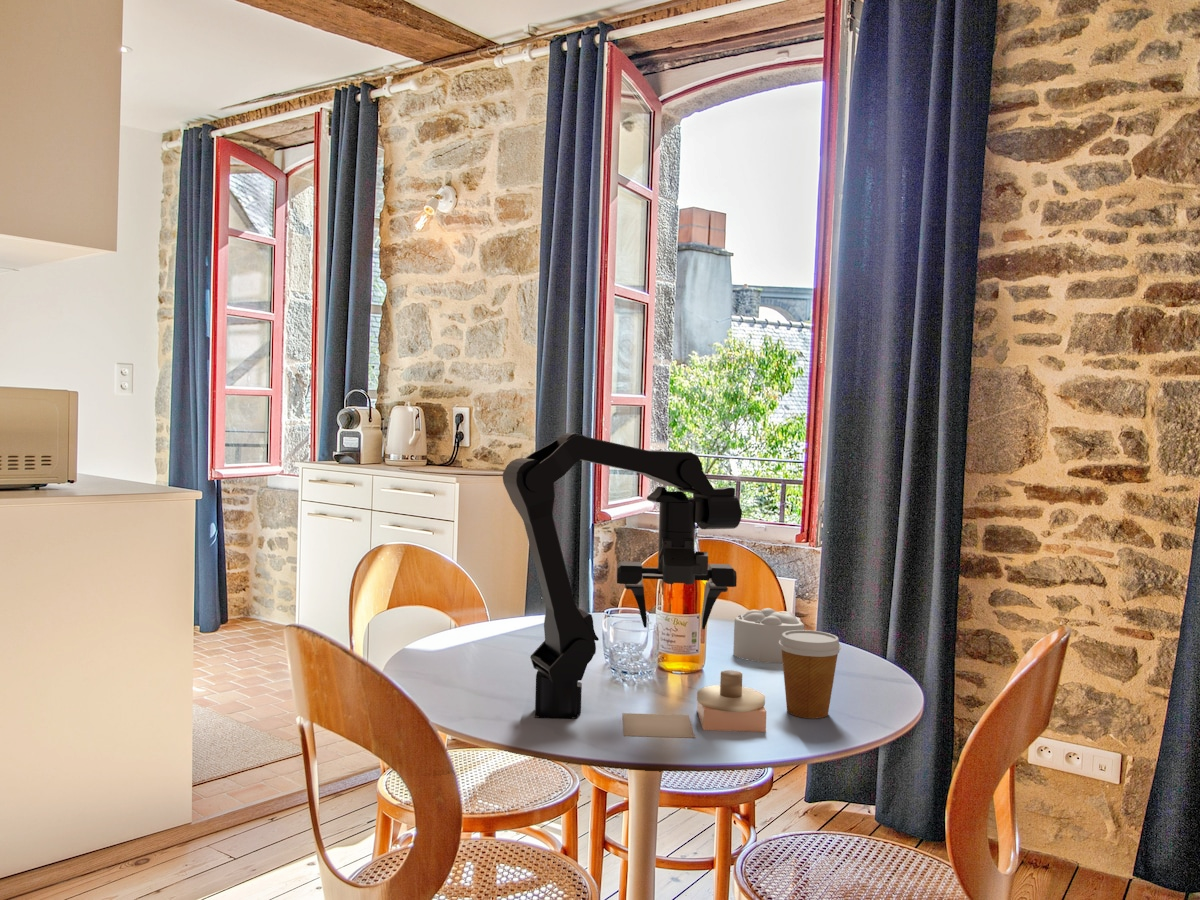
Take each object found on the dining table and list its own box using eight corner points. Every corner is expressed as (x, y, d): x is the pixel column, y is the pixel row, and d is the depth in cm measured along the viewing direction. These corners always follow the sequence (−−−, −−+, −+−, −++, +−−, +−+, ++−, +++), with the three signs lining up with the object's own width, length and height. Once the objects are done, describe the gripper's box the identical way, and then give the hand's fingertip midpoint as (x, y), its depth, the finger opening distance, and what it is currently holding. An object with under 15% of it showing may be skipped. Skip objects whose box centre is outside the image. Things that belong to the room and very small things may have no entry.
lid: (700, 710, 132) (701, 681, 132) (693, 690, 142) (694, 663, 142) (770, 712, 132) (771, 683, 132) (758, 692, 142) (759, 665, 142)
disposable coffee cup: (794, 699, 151) (796, 626, 151) (849, 712, 145) (851, 636, 145) (765, 712, 144) (767, 635, 143) (821, 726, 138) (824, 646, 137)
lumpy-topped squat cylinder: (804, 664, 174) (806, 618, 174) (735, 661, 175) (736, 616, 175) (797, 651, 184) (798, 607, 184) (731, 648, 185) (732, 605, 185)
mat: (623, 739, 130) (623, 735, 130) (622, 717, 140) (622, 713, 140) (695, 741, 130) (695, 737, 130) (688, 719, 140) (688, 715, 140)
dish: (703, 733, 133) (703, 709, 133) (696, 714, 142) (697, 691, 142) (765, 735, 133) (766, 711, 133) (755, 715, 142) (756, 693, 142)
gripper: (618, 534, 139) (616, 638, 139) (743, 538, 139) (740, 641, 139) (617, 526, 150) (615, 622, 150) (733, 529, 150) (730, 625, 150)
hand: (674, 627), depth 147 cm, fingers open, 9 cm apart
